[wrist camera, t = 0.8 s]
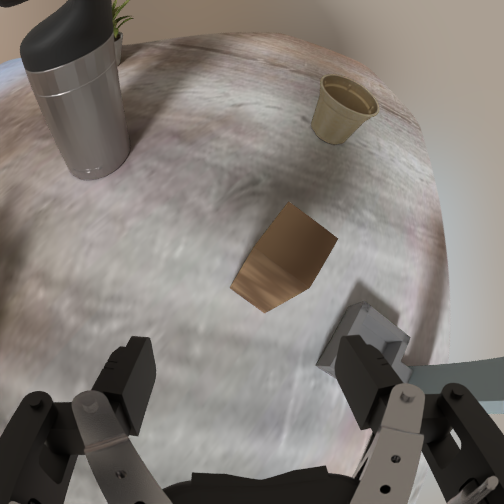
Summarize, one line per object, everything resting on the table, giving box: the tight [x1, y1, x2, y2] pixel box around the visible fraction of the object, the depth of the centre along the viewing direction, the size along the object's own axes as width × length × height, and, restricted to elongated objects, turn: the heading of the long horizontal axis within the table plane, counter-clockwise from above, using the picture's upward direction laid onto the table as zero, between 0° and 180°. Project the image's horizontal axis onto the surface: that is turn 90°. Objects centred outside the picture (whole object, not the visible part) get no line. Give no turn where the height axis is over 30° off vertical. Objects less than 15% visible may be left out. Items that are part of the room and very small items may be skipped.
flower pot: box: [311, 74, 379, 145], centre depth 37 cm, size 9×9×9 cm
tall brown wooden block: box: [230, 201, 338, 313], centre depth 24 cm, size 4×4×12 cm
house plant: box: [112, 0, 133, 66], centre depth 30 cm, size 14×14×16 cm
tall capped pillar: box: [316, 301, 504, 414], centre depth 19 cm, size 17×8×23 cm, turn 55°
